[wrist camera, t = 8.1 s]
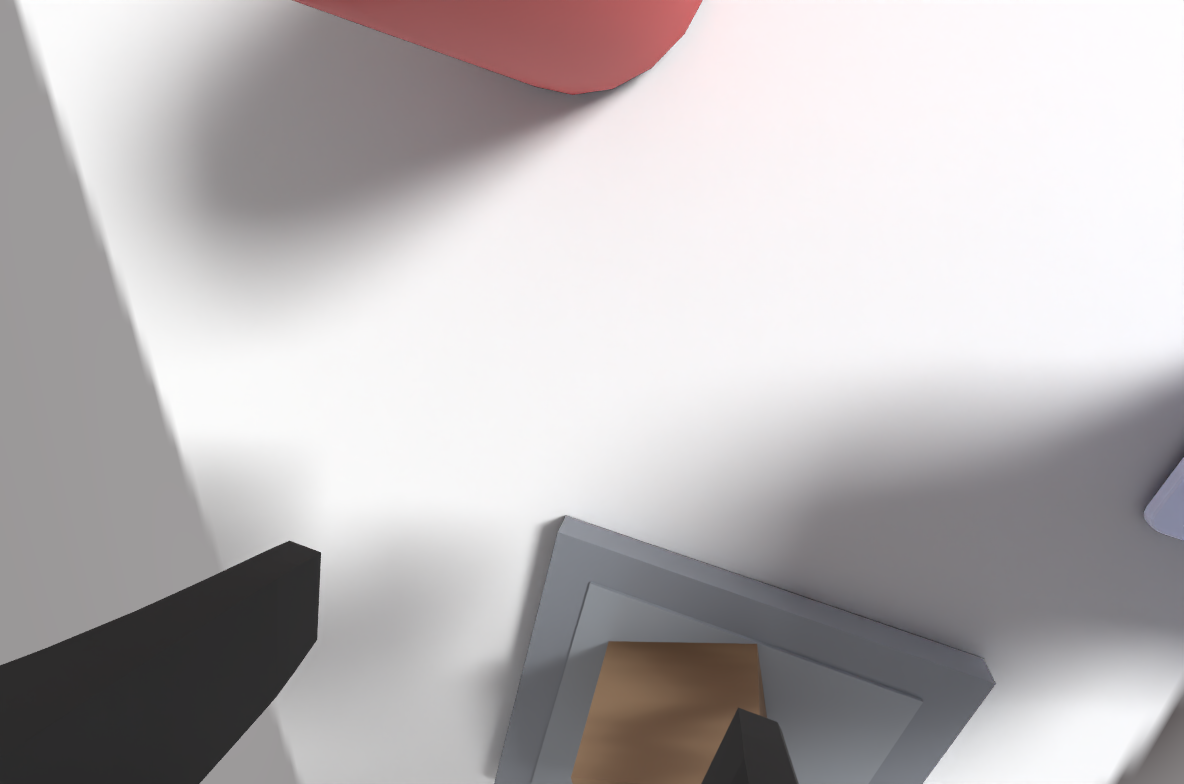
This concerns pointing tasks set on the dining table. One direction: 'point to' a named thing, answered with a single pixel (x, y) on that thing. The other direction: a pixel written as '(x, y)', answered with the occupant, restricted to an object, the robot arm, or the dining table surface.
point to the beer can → (534, 35)
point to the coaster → (745, 616)
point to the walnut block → (665, 710)
